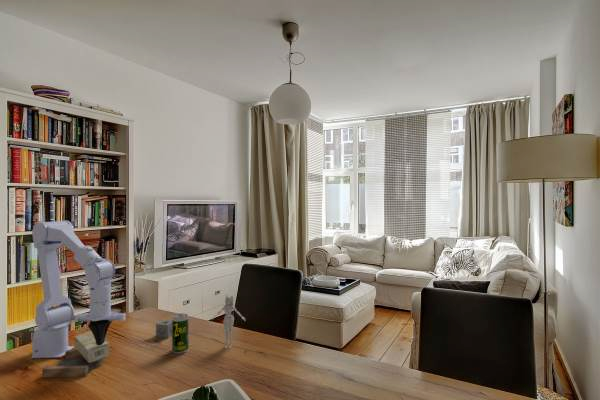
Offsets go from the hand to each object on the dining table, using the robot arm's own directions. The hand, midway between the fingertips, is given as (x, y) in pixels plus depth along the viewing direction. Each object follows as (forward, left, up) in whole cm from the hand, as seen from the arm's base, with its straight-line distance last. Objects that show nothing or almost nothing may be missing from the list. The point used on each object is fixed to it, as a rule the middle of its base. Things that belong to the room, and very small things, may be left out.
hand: (100, 343), depth 114 cm
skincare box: (0, 0, -3) cm, 3 cm away
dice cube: (+13, +24, -7) cm, 28 cm away
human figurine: (+38, +13, -7) cm, 41 cm away
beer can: (+22, +10, -7) cm, 25 cm away
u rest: (-7, 0, -7) cm, 10 cm away
